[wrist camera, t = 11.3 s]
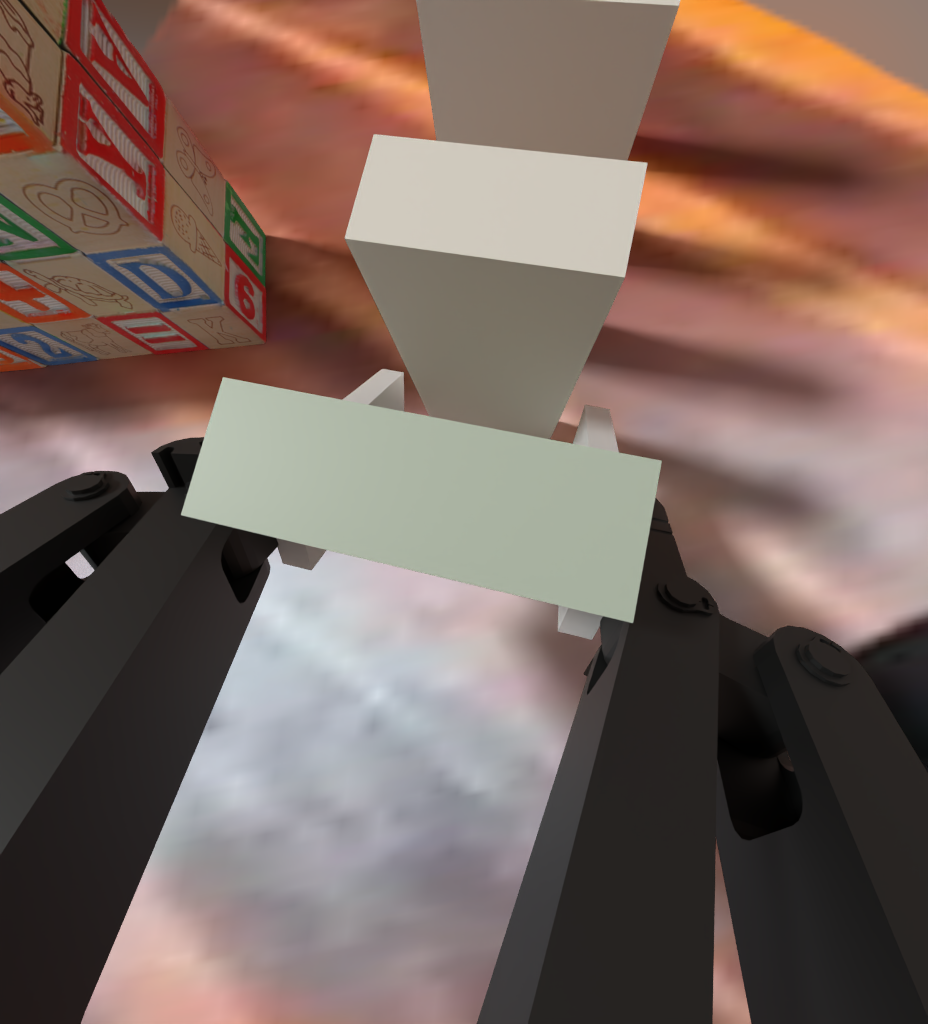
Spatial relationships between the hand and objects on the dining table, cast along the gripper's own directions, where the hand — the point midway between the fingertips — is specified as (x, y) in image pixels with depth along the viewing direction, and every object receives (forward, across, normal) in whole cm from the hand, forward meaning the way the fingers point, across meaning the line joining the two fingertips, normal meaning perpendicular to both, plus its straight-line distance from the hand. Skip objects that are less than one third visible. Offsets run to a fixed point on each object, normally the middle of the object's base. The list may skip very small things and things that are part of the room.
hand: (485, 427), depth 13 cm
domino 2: (+4, 0, -2) cm, 4 cm away
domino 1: (+7, 0, +2) cm, 8 cm away
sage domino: (0, 0, -5) cm, 5 cm away
